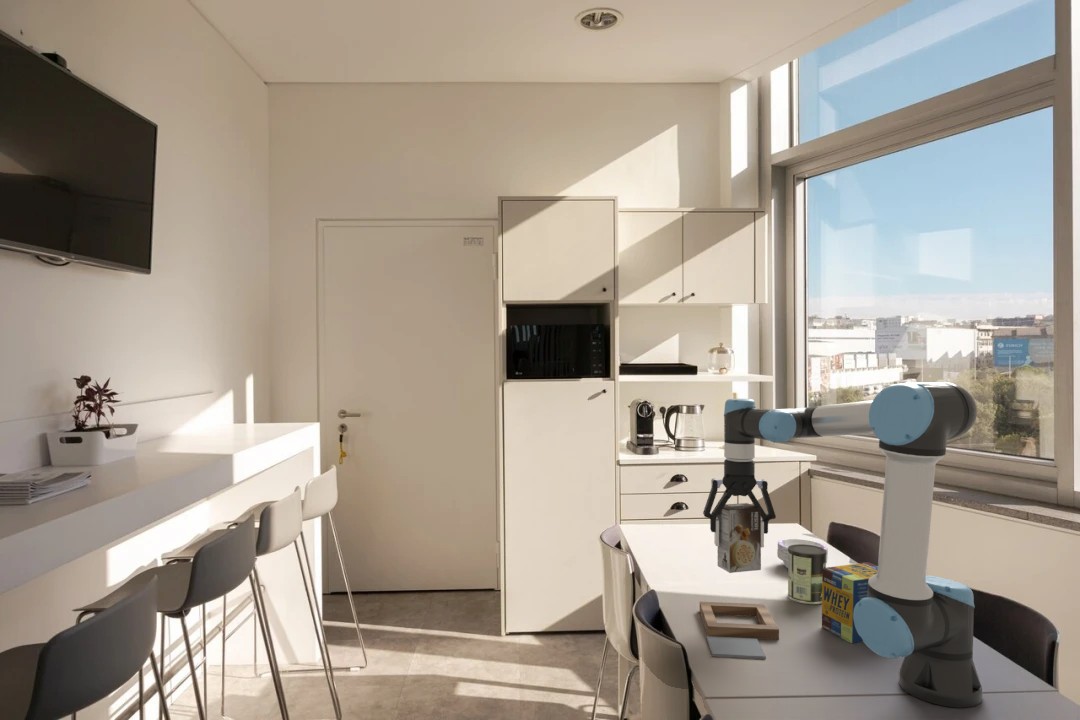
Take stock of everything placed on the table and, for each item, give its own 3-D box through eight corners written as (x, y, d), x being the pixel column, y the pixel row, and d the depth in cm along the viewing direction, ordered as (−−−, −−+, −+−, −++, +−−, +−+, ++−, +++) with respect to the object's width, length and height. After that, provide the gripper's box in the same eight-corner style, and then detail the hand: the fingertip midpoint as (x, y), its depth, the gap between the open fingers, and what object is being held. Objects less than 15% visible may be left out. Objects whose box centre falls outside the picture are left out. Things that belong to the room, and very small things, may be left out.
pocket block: (778, 639, 174) (779, 629, 174) (707, 636, 176) (708, 626, 176) (764, 613, 191) (764, 604, 191) (699, 610, 193) (699, 601, 193)
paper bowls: (838, 572, 226) (838, 547, 226) (800, 578, 220) (800, 552, 220) (803, 559, 240) (804, 535, 240) (767, 564, 234) (767, 540, 234)
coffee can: (822, 593, 207) (822, 545, 207) (829, 606, 197) (829, 555, 197) (784, 590, 209) (785, 542, 209) (789, 603, 199) (790, 552, 199)
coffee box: (747, 563, 187) (748, 502, 187) (761, 570, 181) (762, 507, 181) (716, 566, 185) (716, 504, 184) (729, 573, 178) (729, 509, 178)
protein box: (820, 628, 181) (821, 567, 181) (867, 620, 187) (868, 561, 187) (851, 644, 172) (852, 580, 171) (900, 635, 177) (901, 573, 177)
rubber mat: (765, 659, 163) (765, 656, 163) (712, 656, 164) (712, 653, 164) (757, 641, 173) (757, 638, 173) (706, 638, 174) (706, 636, 174)
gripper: (782, 457, 185) (781, 542, 185) (692, 456, 187) (691, 540, 188) (789, 462, 178) (788, 550, 178) (695, 460, 180) (695, 548, 180)
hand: (738, 545), depth 183 cm, fingers closed on coffee box, 10 cm apart
